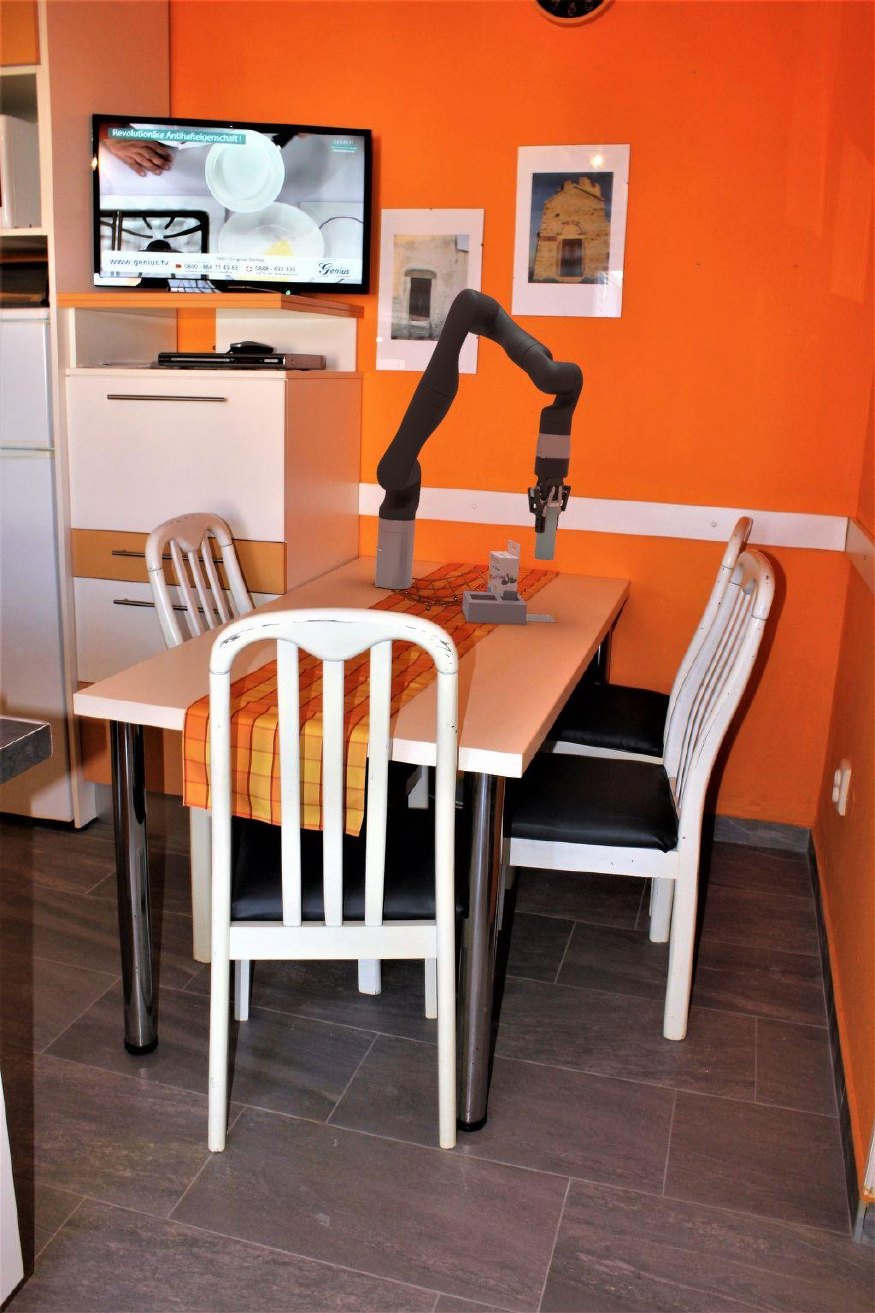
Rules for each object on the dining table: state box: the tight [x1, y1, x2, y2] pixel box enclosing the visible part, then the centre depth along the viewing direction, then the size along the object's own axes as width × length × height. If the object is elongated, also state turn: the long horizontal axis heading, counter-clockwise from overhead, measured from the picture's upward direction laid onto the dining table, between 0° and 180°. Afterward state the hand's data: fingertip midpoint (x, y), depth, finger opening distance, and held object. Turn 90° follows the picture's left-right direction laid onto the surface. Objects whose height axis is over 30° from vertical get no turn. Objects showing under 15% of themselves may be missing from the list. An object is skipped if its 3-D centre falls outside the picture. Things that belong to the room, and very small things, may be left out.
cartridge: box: [534, 501, 559, 561], centre depth 251 cm, size 5×5×13 cm
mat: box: [526, 613, 556, 624], centre depth 256 cm, size 7×7×1 cm
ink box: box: [486, 539, 521, 593], centre depth 272 cm, size 8×5×15 cm, turn 17°
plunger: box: [503, 590, 519, 601], centre depth 253 cm, size 3×3×6 cm
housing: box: [461, 590, 528, 626], centre depth 253 cm, size 13×12×5 cm
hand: (545, 531), depth 251 cm, fingers closed on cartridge, 4 cm apart
